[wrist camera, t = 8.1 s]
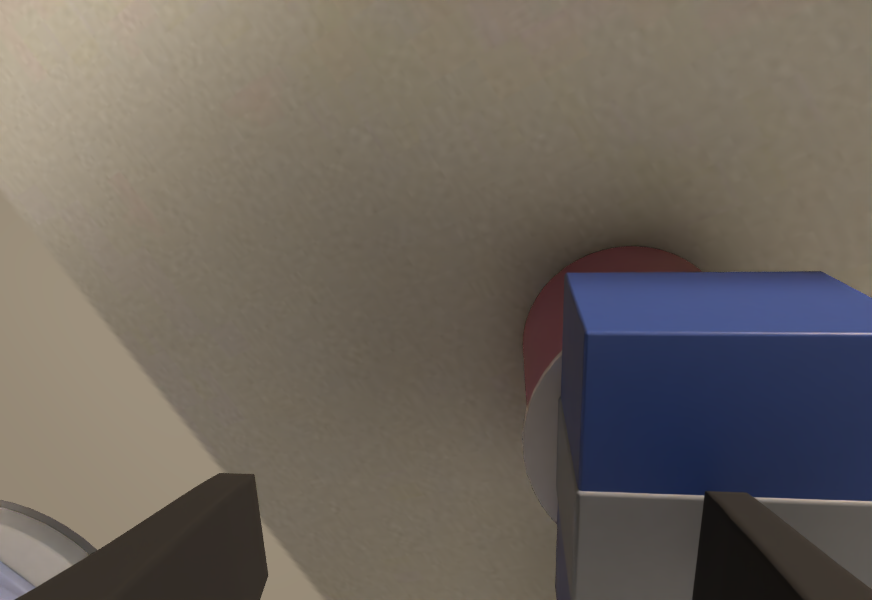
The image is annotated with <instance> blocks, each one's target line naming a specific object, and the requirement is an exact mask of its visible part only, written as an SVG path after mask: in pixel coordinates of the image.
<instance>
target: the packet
mask: <svg viewBox="0 0 872 600" xmlns="http://www.w3.org/2000/svg"><path fill="white" fill-rule="evenodd" d="M556 490H557V498H558V513H557V548H556V583H555V588H556V598H557V600H692V596H693V587H694V579H695V571H696V562H697V554H698V545H699V537H700V528H701V520H702V512H703V503H704V495H705V491H720V492H747V493H748V494H750V495H751V496H752V497H754V498H755V499H757V500H758V501H759V502H761V503H762V504H763V505H765V506H766V507H767V508H768V509H770V510H771V511H772V512H774V513H775V514H776V515H777V516H779V517H780V518H781V519H783V520H784V521H785V522H786V523H788V524H789V525H790V526H791V527H793V528H794V529H795V530H796V531H798V532H799V533H800V534H801V535H803V536H804V537H805V538H806V539H808V540H809V541H810V542H812V543H813V544H814V545H815V546H817V547H818V548H819V549H820V550H822V551H823V552H824V553H825V554H827V555H828V556H829V557H831V558H832V559H833V560H834V561H836V562H837V563H838V564H840V565H841V566H842V567H843V568H845V569H846V570H847V571H849V572H850V573H851V574H853V575H854V576H855V577H856V578H858V579H859V580H860V581H862V582H863V583H864V584H866V585H867V586H868V587H870V588H871V589H872V298H871V297H869V296H867V295H865V294H863V293H861V292H860V291H858V290H856V289H854V288H852V287H850V286H848V285H846V284H844V283H843V282H841V281H839V280H837V279H835V278H833V277H831V276H829V275H827V274H826V273H824V272H821V271H791V272H610V273H566V274H565V276H564V304H563V339H562V374H561V396H560V397H559V399H558V430H557V467H556Z"/></svg>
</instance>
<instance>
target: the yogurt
mask: <svg viewBox="0 0 872 600" xmlns="http://www.w3.org/2000/svg"><path fill="white" fill-rule="evenodd" d="M610 272H702V271H701V270H700V269H699V268H697V267H696V266H694V265H693V264H691V263H690V262H688V261H687V260H685V259H683V258H681V257H679V256H677V255H675V254H672V253H669V252H666V251H663V250H660V249H654V248H649V247H638V246H626V247H615V248H610V249H605V250H601V251H598V252H595V253H592V254H589V255H587V256H585V257H583V258H581V259H578V260H576V261H575V262H573V263H572V264H570V265H568V266H567V267H565V268H564V269H563V270H561V271H560V272H559V273H558V274H556V275H555V276H554V277H553V278H552V279H551V280H550V281H549V282H548V283H547V284H546V286H545V287H544V288H543V289H542V291H541V292H540V294H539V295H538V296H537V298H536V300H535V302H534V303H533V305H532V307H531V309H530V312H529V315H528V317H527V320H526V324H525V329H524V334H523V358H524V373H525V388H526V403H527V410H526V415H525V419H524V426H523V438H522V440H523V456H524V462H525V467H526V471H527V476H528V478H529V481H530V483H531V486H532V489H533V491H534V493H535V495H536V496H537V498H538V500H539V502H540V504H541V505H542V507H543V508H544V509H545V511H546V512H547V513H548V515H549V516H550V517H551V519H552V520H553V521H554V522H555V523H556V524H557V513H558V498H557V490H556V467H557V430H558V399H559V397H560V396H561V374H562V339H563V304H564V276H565V274H566V273H610Z"/></svg>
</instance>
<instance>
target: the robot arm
mask: <svg viewBox="0 0 872 600" xmlns="http://www.w3.org/2000/svg"><path fill="white" fill-rule="evenodd" d="M267 577H268V570H267V563H266V556H265V549H264V542H263V534H262V527H261V519H260V512H259V505H258V498H257V490H256V483H255V476H254V474H229V473H219V474H217V475H216V476H214V477H212V478H210V479H208V480H207V481H205V482H203V483H202V484H200V485H198V486H197V487H195V488H193V489H192V490H191V491H189V492H187V493H186V494H185V495H182V496H181V497H179V498H178V499H176V500H175V501H173V502H172V503H170V504H169V505H167V506H166V507H164V508H163V509H161V510H160V511H158V512H156V513H155V514H153V515H152V516H150V517H149V518H147V519H146V520H144V521H143V522H141V523H140V524H138V525H136V526H135V527H134V528H132V529H130V530H129V531H127V532H126V533H124V534H123V535H121V536H120V537H118V538H116V539H115V540H113V541H112V542H110V543H109V544H107V545H105V546H104V547H102V548H101V549H99V550H97V551H96V552H94V553H92V554H91V555H89V556H87V557H86V558H84V559H82V560H81V561H79V562H77V563H76V564H74V565H72V566H71V567H69V568H67V569H66V570H64V571H62V572H61V573H59V574H57V575H56V576H54V577H52V578H51V579H49V580H47V581H46V582H44V583H43V584H41V585H39V586H38V587H35V586H33V585H32V584H31V583H29V582H28V581H27V580H25V579H24V578H23V577H21V576H20V575H19V574H17V573H16V572H15V571H13V570H12V569H11V568H9V567H8V566H7V565H5V564H4V563H3V562H1V561H0V600H260V598H261V595H262V592H263V589H264V586H265V583H266V580H267ZM692 600H872V589H871V588H870V587H868V586H867V585H866V584H864V583H863V582H862V581H860V580H859V579H858V578H856V577H855V576H854V575H853V574H851V573H850V572H849V571H847V570H846V569H845V568H843V567H842V566H841V565H840V564H838V563H837V562H836V561H834V560H833V559H832V558H831V557H829V556H828V555H827V554H825V553H824V552H823V551H822V550H820V549H819V548H818V547H817V546H815V545H814V544H813V543H812V542H810V541H809V540H808V539H806V538H805V537H804V536H803V535H801V534H800V533H799V532H798V531H796V530H795V529H794V528H793V527H791V526H790V525H789V524H788V523H786V522H785V521H784V520H783V519H781V518H780V517H779V516H777V515H776V514H775V513H774V512H772V511H771V510H770V509H768V508H767V507H766V506H765V505H763V504H762V503H761V502H759V501H758V500H757V499H755V498H754V497H752V496H751V495H750V494H748V493H747V492H720V491H705V495H704V503H703V512H702V520H701V528H700V537H699V545H698V554H697V562H696V571H695V579H694V587H693V596H692Z"/></svg>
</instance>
